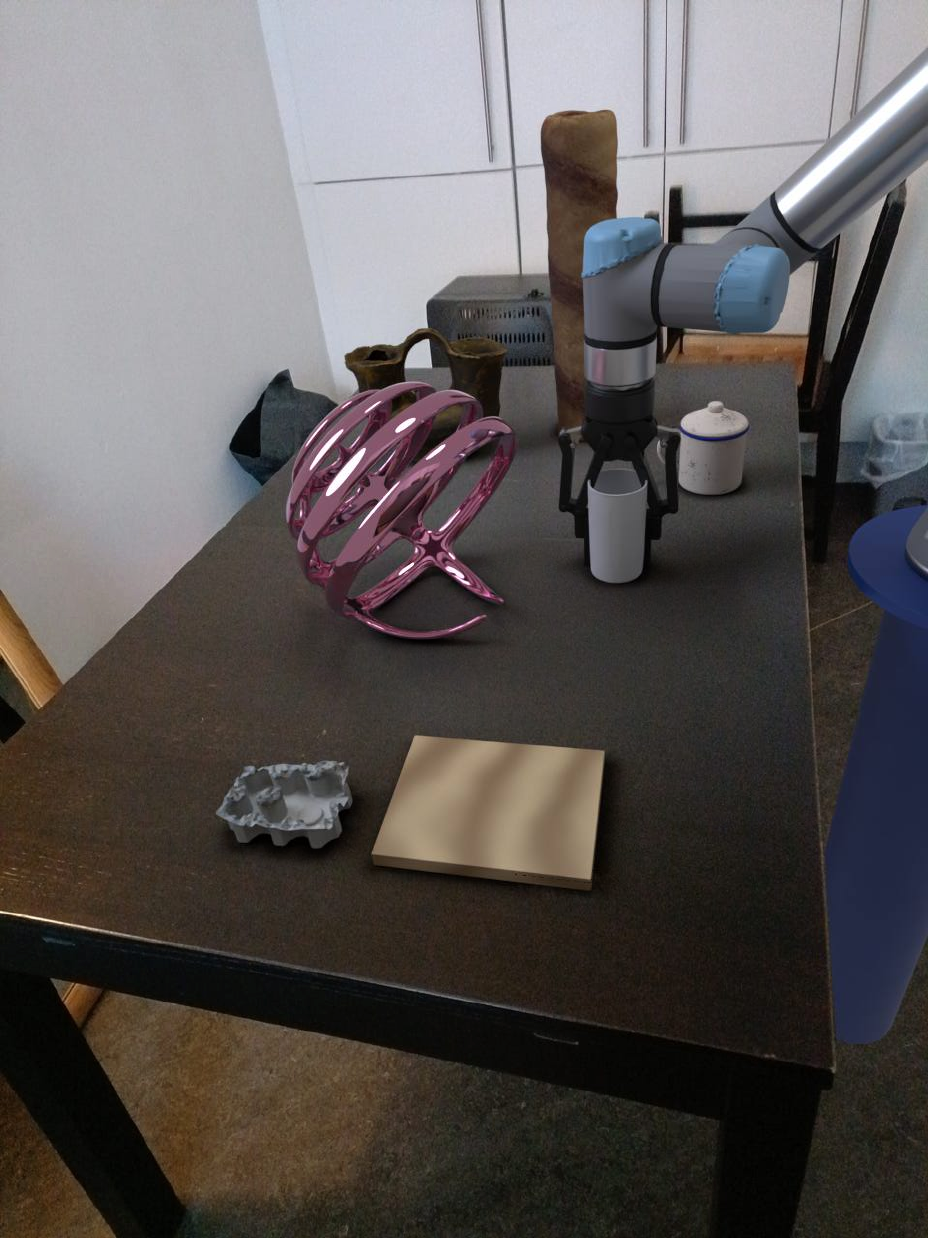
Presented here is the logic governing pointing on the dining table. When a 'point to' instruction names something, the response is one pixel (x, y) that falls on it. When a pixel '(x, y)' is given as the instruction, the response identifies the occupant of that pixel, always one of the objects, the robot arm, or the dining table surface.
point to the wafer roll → (575, 234)
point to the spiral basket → (392, 497)
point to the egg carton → (288, 802)
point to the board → (495, 812)
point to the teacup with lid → (711, 450)
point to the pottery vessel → (470, 371)
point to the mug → (617, 525)
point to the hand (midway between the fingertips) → (617, 559)
